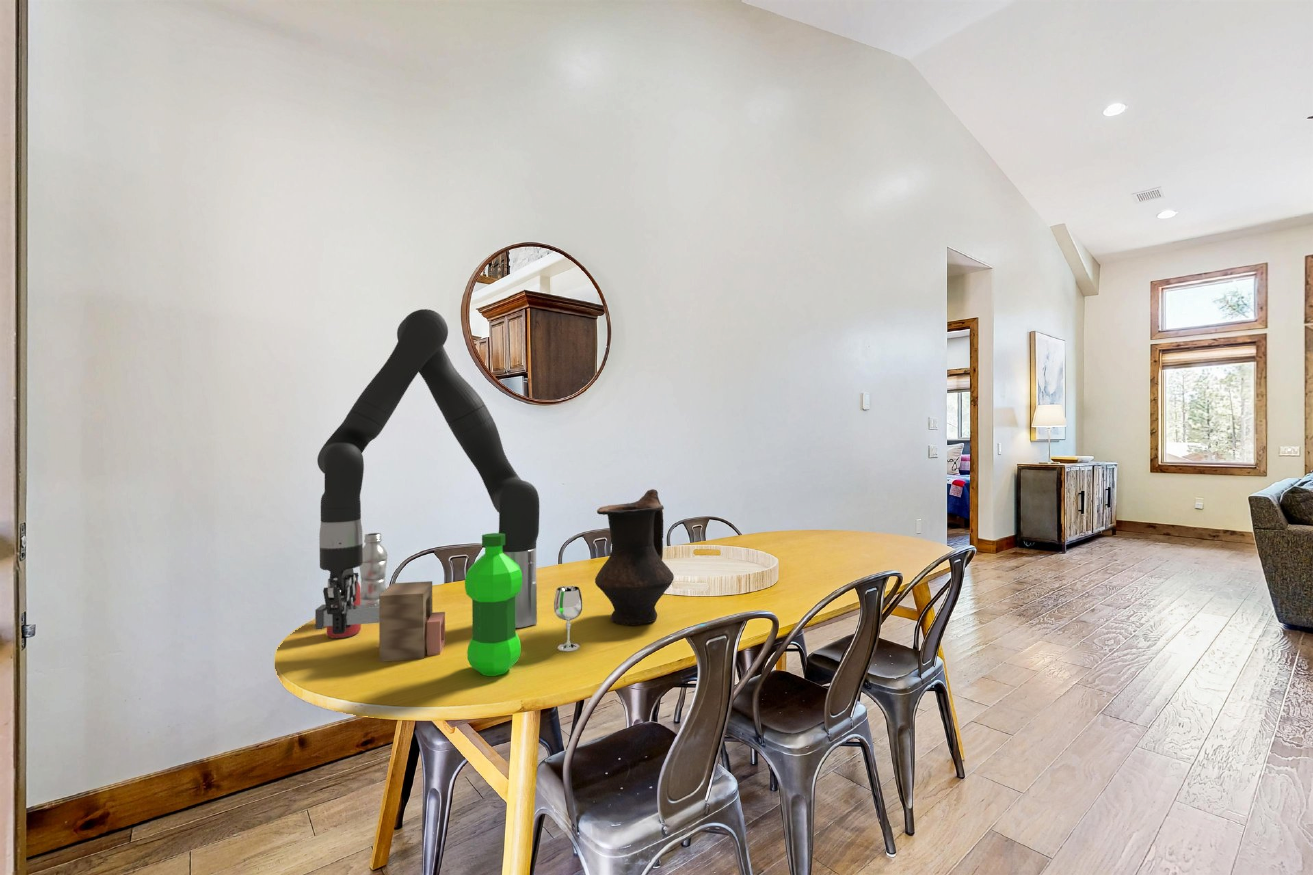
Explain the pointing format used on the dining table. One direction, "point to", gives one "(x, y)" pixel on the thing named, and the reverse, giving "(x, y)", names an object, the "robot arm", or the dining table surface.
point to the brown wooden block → (404, 620)
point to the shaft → (349, 615)
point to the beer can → (353, 628)
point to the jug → (635, 560)
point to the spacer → (436, 633)
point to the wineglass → (568, 610)
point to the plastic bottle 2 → (493, 608)
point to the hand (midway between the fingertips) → (342, 629)
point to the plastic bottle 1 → (373, 569)
